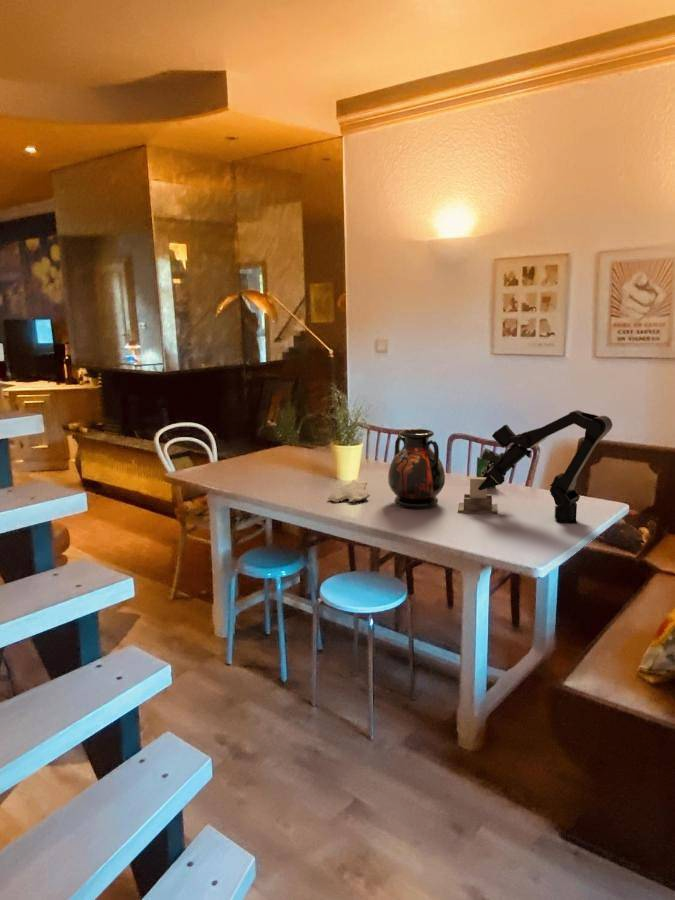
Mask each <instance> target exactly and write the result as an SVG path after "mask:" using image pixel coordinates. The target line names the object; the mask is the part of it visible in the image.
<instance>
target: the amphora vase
mask: <svg viewBox="0 0 675 900" xmlns="http://www.w3.org/2000/svg"><path fill="white" fill-rule="evenodd" d="M434 435H435V433H434V431H432V430H430V429H425V428H410V429H409V428H408V429H403V430H400V431H399V436H398V437H397V438H396V440H395V444H394V457H393V459H392V461H391V463H390V465H389V468H388V471H387V472H388V473H387V479H388V482H387V484H388V486H389V488H390V489H391V491H392V493H393V494H394V495H396V497H395V498H394V503H395V504H396V505H397V506H400V507H401V508H404V509H405V508H406V509H411V510H420V509H421V510H422V509H423V510H424V509H428V508H433V507H434V506H436V505H438V503H439V499H438V497H437V496H438V495H439V494H441V491H442V490H443V488H444V487H445V483H446V474H445V468H444V466H443V463H442V461H441V459H440V457H439V456H440V448H439V444H438V443H437V441H436V440H432V439H431V440H430V438H432V437H433V436H434ZM401 441H402V442H403V447H402V448H401V449H400V444H401V443H400V442H401ZM431 445H432V447H433V449H432V448H431V447H430V446H431Z"/></svg>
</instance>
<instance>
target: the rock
mask: <svg viewBox="0 0 675 900" xmlns="http://www.w3.org/2000/svg"><path fill="white" fill-rule="evenodd" d="M367 485H368V482H367V481H361V480H357V479H356V480H355V479H352V482H349V483H347V484H343V485H340V486H339V487H337V488H336V489H335V490H334V491H333V492H332V493H331V494H330V495H329V496H328V497H327V500H329V501H331V502H335V503H340V502H339V501H341V502H344V501H345V500H347V499H348V503H350V502H352V503H355V502H359V501H363V500H365V499H368V498H369V497H370V496H371V494H370V493H369V492H367V490H366V488H367Z"/></svg>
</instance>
